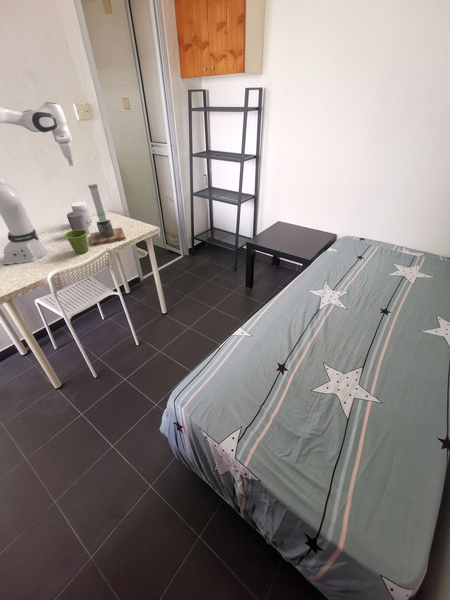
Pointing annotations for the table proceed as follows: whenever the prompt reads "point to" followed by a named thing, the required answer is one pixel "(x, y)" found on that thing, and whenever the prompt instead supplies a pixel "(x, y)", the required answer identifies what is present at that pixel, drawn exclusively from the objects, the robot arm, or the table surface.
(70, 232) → the plant pot
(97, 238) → the stand
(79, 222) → the pillar candle
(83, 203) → the supplement tub
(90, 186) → the column
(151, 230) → the table surface
